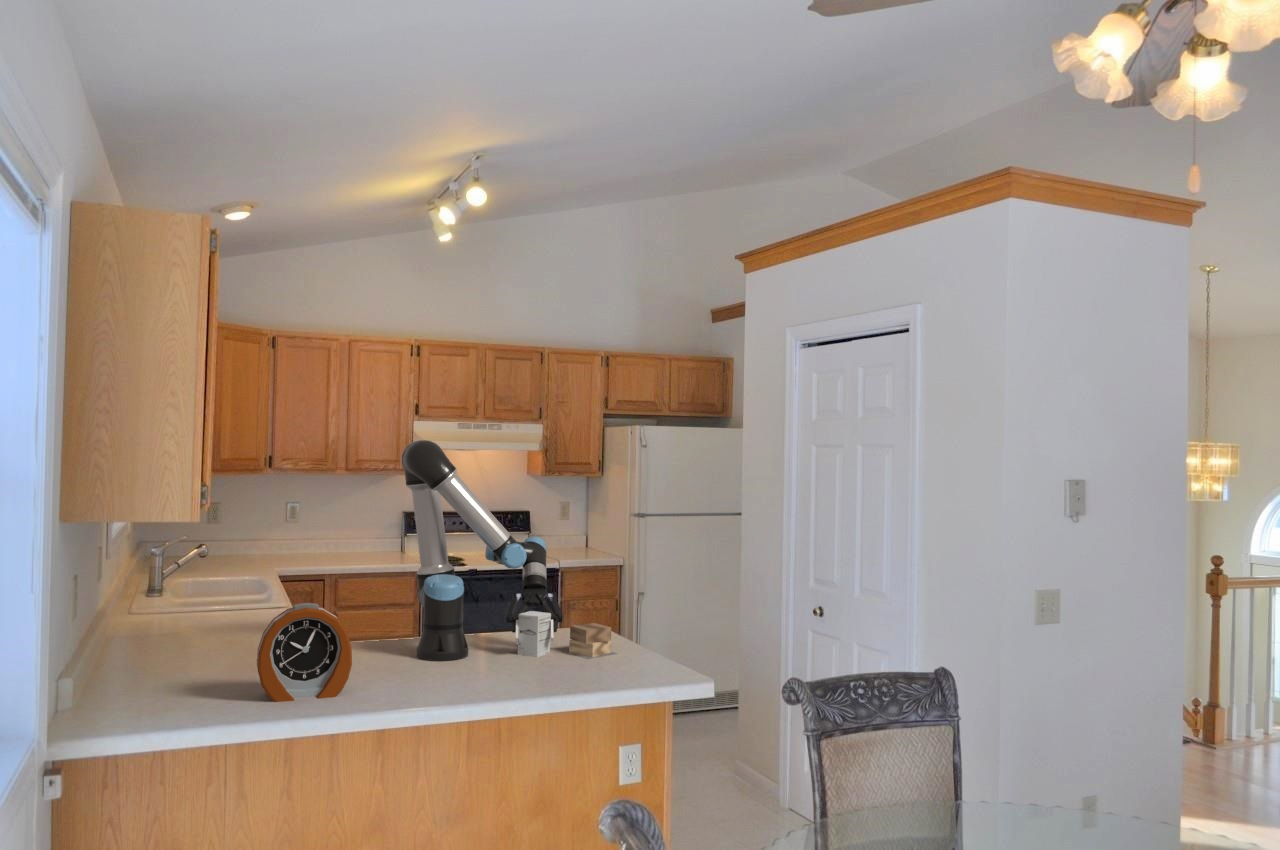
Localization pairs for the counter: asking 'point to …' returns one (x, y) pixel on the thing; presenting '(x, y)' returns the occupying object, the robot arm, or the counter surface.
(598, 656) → the slate mat
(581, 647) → the bottom block
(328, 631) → the alarm clock
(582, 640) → the top block
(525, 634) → the supplement box
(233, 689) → the counter surface
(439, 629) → the robot arm
